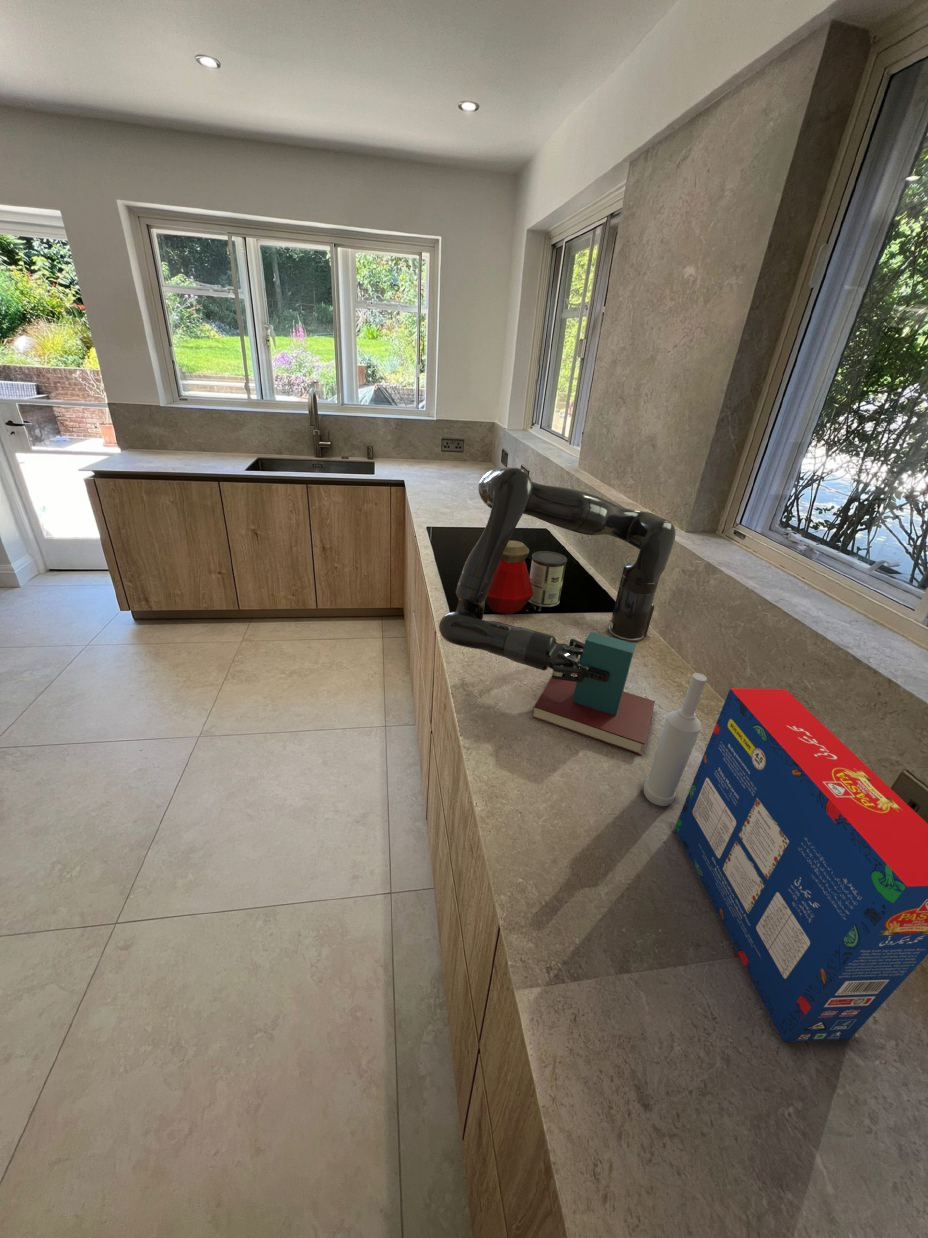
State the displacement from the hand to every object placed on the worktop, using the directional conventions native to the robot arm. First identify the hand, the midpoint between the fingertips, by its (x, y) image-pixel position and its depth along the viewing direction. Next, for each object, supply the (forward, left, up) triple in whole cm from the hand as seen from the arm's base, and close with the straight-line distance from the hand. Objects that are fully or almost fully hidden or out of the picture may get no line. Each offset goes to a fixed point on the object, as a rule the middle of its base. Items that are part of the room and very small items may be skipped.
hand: (610, 671), depth 98 cm
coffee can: (-17, -53, -12) cm, 57 cm away
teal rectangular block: (+1, -1, -9) cm, 9 cm away
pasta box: (+6, +42, -12) cm, 44 cm away
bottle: (+3, +21, -12) cm, 24 cm away
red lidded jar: (-3, -51, -12) cm, 52 cm away
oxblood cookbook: (+1, -1, -12) cm, 12 cm away
